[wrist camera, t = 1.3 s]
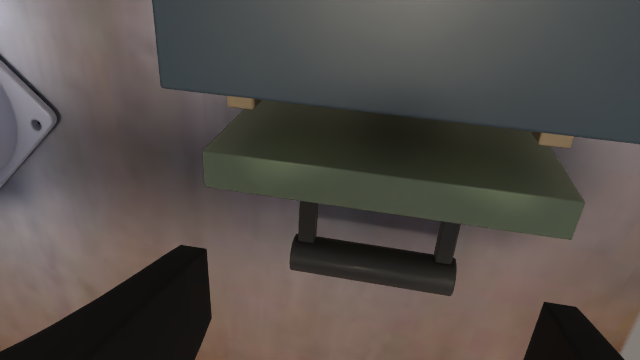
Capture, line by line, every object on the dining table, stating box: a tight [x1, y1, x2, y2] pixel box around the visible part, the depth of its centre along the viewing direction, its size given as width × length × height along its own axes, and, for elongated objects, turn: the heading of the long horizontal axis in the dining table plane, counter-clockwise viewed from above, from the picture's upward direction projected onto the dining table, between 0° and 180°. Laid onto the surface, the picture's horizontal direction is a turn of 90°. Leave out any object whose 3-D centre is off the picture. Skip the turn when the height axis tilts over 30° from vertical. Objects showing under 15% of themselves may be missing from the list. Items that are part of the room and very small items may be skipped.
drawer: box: [202, 96, 585, 296], centre depth 14 cm, size 17×10×6 cm, turn 177°
